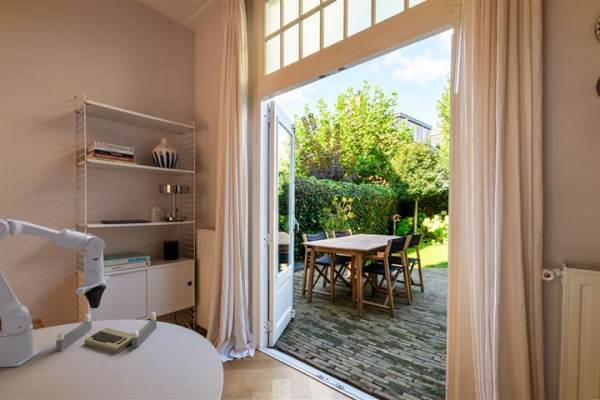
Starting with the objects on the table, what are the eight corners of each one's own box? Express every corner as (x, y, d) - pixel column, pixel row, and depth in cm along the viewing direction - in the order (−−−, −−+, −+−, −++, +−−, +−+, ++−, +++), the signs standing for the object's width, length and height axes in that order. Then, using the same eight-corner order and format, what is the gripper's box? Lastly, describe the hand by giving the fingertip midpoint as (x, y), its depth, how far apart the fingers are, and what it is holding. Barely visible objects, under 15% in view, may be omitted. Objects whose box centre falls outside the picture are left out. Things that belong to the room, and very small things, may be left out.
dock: (56, 351, 91) (56, 332, 91) (87, 329, 105) (86, 314, 105) (137, 348, 92) (136, 330, 92) (156, 327, 106) (156, 312, 106)
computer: (83, 346, 94) (83, 336, 94) (108, 334, 102) (107, 325, 102) (116, 356, 89) (116, 345, 89) (139, 343, 96) (139, 333, 96)
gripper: (91, 275, 93) (92, 316, 94) (117, 264, 108) (118, 299, 108) (69, 276, 93) (70, 316, 93) (98, 264, 107) (99, 300, 108)
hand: (94, 307), depth 101 cm, fingers closed
